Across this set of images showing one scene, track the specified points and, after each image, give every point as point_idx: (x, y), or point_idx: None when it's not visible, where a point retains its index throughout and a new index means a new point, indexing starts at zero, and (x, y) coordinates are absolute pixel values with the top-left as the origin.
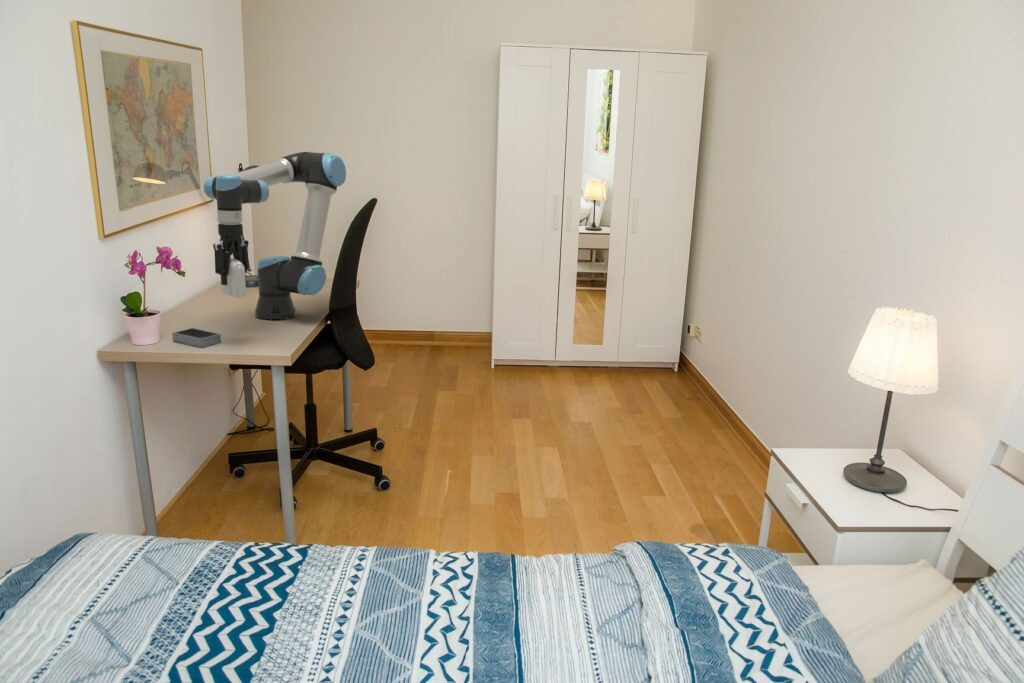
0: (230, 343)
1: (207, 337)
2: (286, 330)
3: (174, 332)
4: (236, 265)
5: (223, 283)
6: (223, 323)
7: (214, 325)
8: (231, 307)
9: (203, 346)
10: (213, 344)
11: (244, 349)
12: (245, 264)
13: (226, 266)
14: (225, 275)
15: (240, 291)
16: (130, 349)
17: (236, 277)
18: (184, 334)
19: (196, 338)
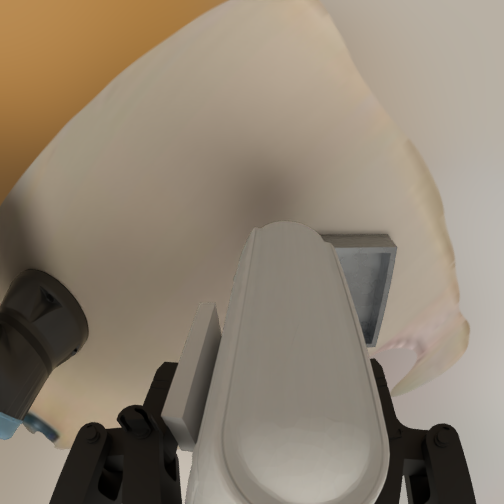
0: (301, 205)
1: (371, 248)
2: (84, 189)
3: (369, 346)
4: (372, 498)
5: (380, 374)
6: (171, 356)
7: None
8: (99, 401)
9: (382, 236)
10: (343, 235)
11: (327, 116)
12: (97, 471)
13: (393, 501)
14: (389, 422)
15: (311, 245)
16: (449, 337)
17: (354, 352)
18: None
19: (393, 265)
